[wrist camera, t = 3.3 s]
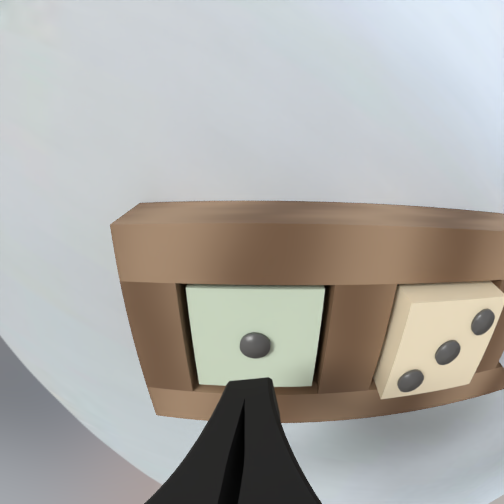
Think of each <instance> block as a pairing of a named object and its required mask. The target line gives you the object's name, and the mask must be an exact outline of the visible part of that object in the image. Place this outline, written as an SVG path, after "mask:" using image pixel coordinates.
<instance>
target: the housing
mask: <svg viewBox="0 0 504 504" xmlns="http://www.w3.org/2000/svg"><path fill="white" fill-rule="evenodd" d="M110 227H111V234H112V240H113V246H114V252H115V258H116V263H117V269H118V274H119V279H120V284H121V289H122V293H123V298H124V302H125V307H126V311H127V315H128V320H129V324H130V328H131V332H132V336H133V339H134V343H135V347H136V351H137V354H138V358H139V361H140V365H141V368H142V372H143V375H144V378H145V381H146V385H147V388H148V391H149V394H150V397H151V400H152V403H153V406H154V409H155V412H156V415H160V416H167V417H176V418H185V419H195V420H207V421H209V419H210V417H211V415H212V413H213V412H214V410H215V408H216V406H217V404H218V402H219V400H220V398H221V396H222V393H223V391H224V389H225V387H226V386H221V385H204V384H199V380H198V373H197V367H196V361H195V354H194V347H193V341H192V333H191V326H190V319H189V311H188V303H187V295H186V286H187V284H228V285H324V288H325V294H324V303H323V311H322V319H321V327H320V334H319V341H318V348H317V355H316V362H315V368H314V375H313V381H312V386H301V387H274V389H275V394H276V398H277V403H278V407H279V411H280V419H281V423H301V422H322V421H337V420H349V419H359V418H368V417H376V416H384V415H391V414H398V413H404V412H410V411H416V410H421V409H426V408H431V407H436V406H441V405H445V404H450V403H454V402H458V401H462V400H466V399H470V398H474V397H478V396H481V395H485V394H488V393H492V392H495V391H498V390H502V389H504V368H503V366H502V365H501V363H500V362H499V360H500V358H501V356H502V354H503V352H504V306H503V309H502V312H501V314H500V317H499V319H498V322H497V325H496V327H495V329H494V332H493V334H492V337H491V339H490V341H489V344H488V346H487V348H486V350H485V353H484V355H483V357H482V359H481V361H480V363H479V365H478V367H477V369H476V371H475V373H474V375H473V377H472V379H471V381H470V383H469V384H467V385H462V386H458V387H453V388H448V389H443V390H438V391H433V392H427V393H421V394H415V395H409V396H402V397H395V398H388V399H380V396H379V393H378V390H377V387H376V384H375V381H374V378H373V375H374V372H375V369H376V365H377V362H378V359H379V355H380V352H381V348H382V345H383V341H384V337H385V333H386V330H387V326H388V322H389V318H390V314H391V310H392V305H393V301H394V297H395V292H396V287H397V284H414V283H444V282H468V281H489V280H490V281H491V282H492V283H493V284H494V285H495V286H497V287H498V288H499V289H500V290H501V291H502V292H503V293H504V214H501V213H492V212H482V211H471V210H460V209H447V208H434V207H420V206H405V205H387V204H367V203H342V202H306V201H188V202H153V203H139V204H138V205H136V206H135V207H134V208H132V209H131V210H130V211H128V212H127V213H125V214H124V215H123V216H121V217H120V218H119V219H117V220H116V221H115V222H113V223H112V224H110Z"/></svg>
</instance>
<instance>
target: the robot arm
mask: <svg viewBox="0 0 504 504" xmlns="http://www.w3.org/2000/svg"><path fill="white" fill-rule="evenodd" d="M144 504H322V503H321V502H320V500H319V499H318V497H317V496H316V494H315V492H314V491H313V489H312V487H311V486H310V484H309V482H308V481H307V479H306V477H305V475H304V473H303V472H302V470H301V468H300V466H299V464H298V462H297V460H296V458H295V456H294V454H293V452H292V449H291V447H290V445H289V443H288V440H287V438H286V436H285V433H284V430H283V428H282V425H281V419H280V411H279V407H278V403H277V398H276V394H275V389H274V385H273V380H272V379H271V378H269V377H265V378H256V379H246V380H234V381H229V382H228V383H227V385H226V387H225V389H224V391H223V393H222V396H221V398H220V400H219V402H218V404H217V406H216V408H215V410H214V412H213V413H212V415H211V417H210V419H209V421H208V422H207V424H206V426H205V428H204V429H203V431H202V433H201V434H200V436H199V438H198V439H197V441H196V442H195V444H194V445H193V447H192V448H191V450H190V451H189V453H188V454H187V456H186V457H185V458H184V460H183V461H182V462H181V464H180V465H179V466H178V468H177V469H176V470H175V471H174V473H173V474H172V475H171V476H170V477H169V479H168V480H167V481H166V482H165V483H164V484H163V485H162V486H161V488H160V489H159V490H158V491H157V492H156V493H155V494H154V495H153V496H152V497H151V498H150V499H149V500H148V501H147V502H146V503H144Z"/></svg>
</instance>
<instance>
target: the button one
mask: <svg viewBox="0 0 504 504" xmlns="http://www.w3.org/2000/svg"><path fill="white" fill-rule="evenodd" d="M324 294H325V288H324V285H228V284H187V286H186V295H187V303H188V311H189V319H190V326H191V333H192V341H193V347H194V354H195V361H196V367H197V373H198V380H199V384H204V385H221V386H226V385H227V383H228V382H229V381H234V380H246V379H256V378H265V377H269V378H271V379H272V380H273V385H274V387H301V386H312V381H313V375H314V368H315V362H316V355H317V348H318V341H319V334H320V327H321V319H322V311H323V303H324Z"/></svg>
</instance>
